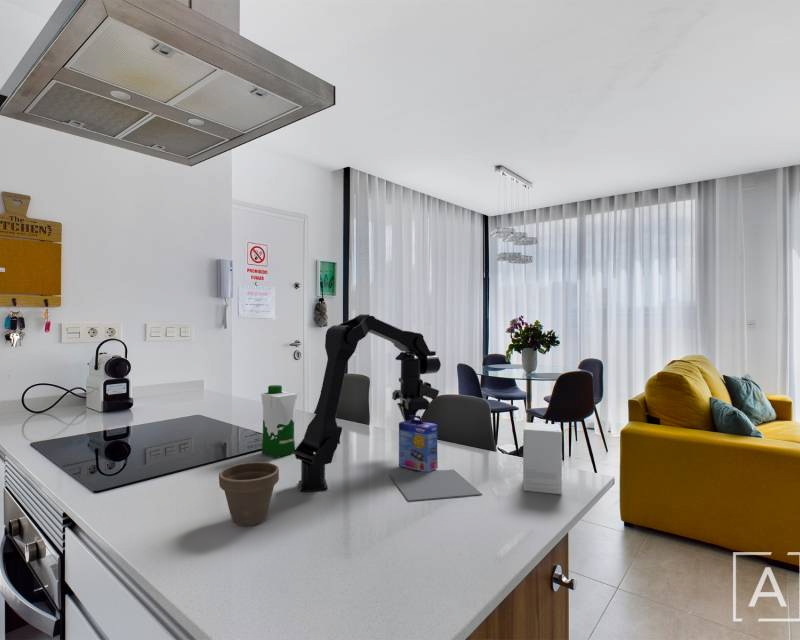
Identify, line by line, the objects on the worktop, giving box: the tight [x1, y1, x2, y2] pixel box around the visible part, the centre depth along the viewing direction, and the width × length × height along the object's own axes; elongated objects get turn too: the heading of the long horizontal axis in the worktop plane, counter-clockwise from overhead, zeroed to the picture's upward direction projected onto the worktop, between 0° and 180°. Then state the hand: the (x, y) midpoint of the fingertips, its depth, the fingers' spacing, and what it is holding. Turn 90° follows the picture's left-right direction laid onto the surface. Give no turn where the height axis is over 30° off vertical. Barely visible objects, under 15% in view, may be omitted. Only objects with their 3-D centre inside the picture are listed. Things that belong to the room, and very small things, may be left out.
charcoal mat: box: [389, 469, 483, 503], centre depth 115 cm, size 18×18×1 cm
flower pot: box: [218, 461, 280, 527], centre depth 94 cm, size 12×11×10 cm
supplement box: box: [522, 421, 563, 495], centre depth 115 cm, size 9×9×15 cm
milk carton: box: [260, 384, 298, 459], centre depth 140 cm, size 9×9×20 cm
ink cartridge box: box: [398, 415, 439, 472], centre depth 128 cm, size 10×6×14 cm, turn 53°
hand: (409, 428), depth 136 cm, fingers closed
